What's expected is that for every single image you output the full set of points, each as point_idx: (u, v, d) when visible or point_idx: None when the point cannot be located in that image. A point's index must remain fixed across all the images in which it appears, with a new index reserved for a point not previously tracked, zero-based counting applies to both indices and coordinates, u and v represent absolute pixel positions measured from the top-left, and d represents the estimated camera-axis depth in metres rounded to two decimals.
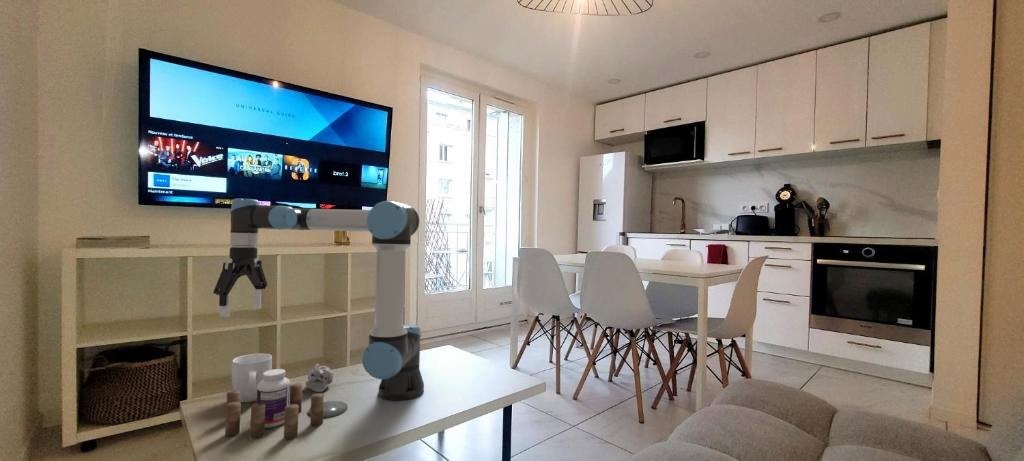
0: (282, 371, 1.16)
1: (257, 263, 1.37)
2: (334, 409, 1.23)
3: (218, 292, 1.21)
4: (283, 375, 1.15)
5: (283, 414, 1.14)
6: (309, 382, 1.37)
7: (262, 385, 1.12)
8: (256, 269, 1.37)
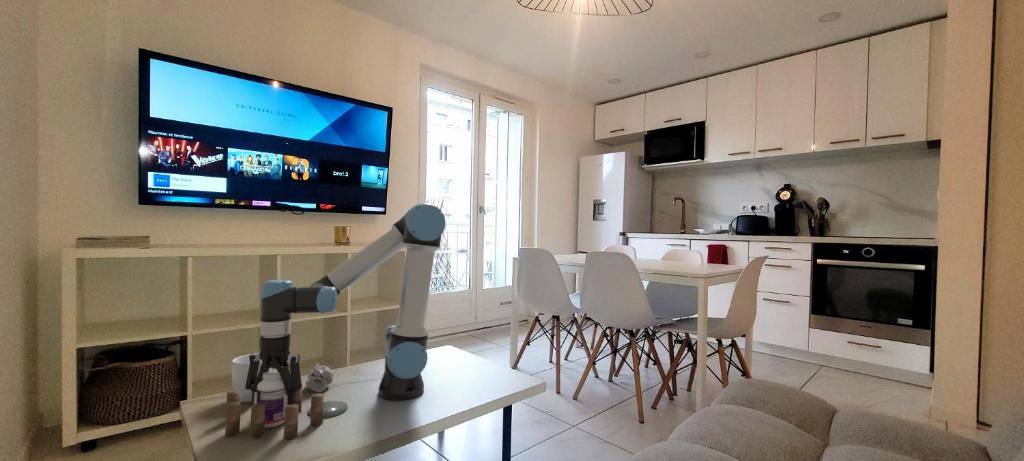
0: None
1: None
2: (334, 409, 1.23)
3: None
4: None
5: None
6: (309, 382, 1.37)
7: (262, 384, 1.12)
8: None
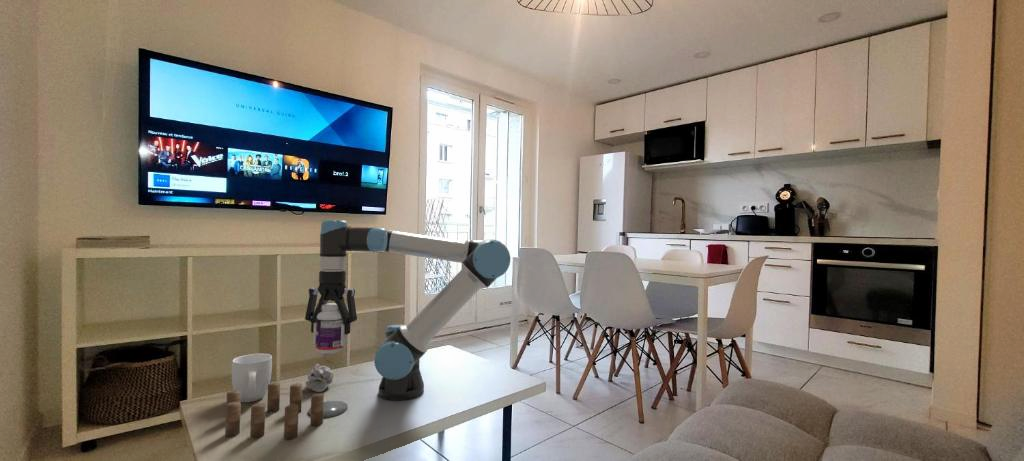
0: None
1: (348, 292, 1.24)
2: (334, 409, 1.23)
3: None
4: None
5: (340, 343, 1.24)
6: (309, 382, 1.37)
7: (321, 314, 1.22)
8: None
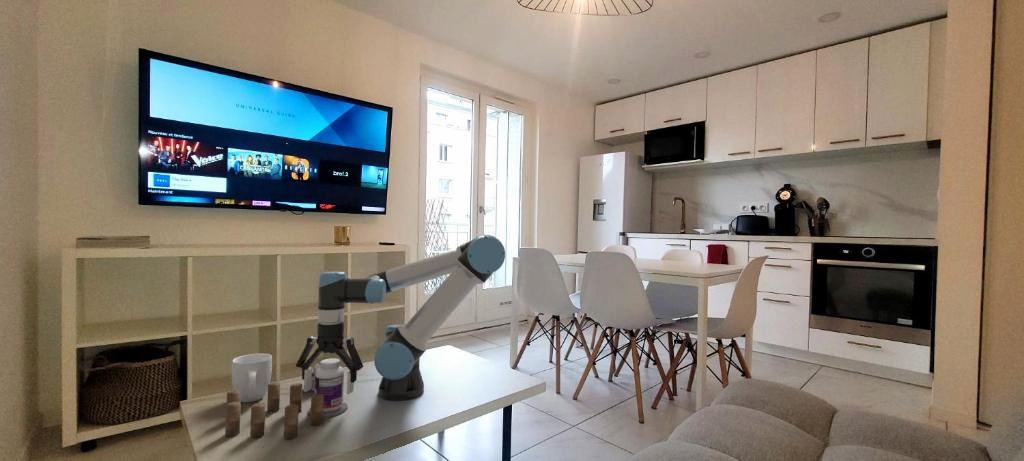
0: (337, 360, 1.25)
1: None
2: None
3: None
4: (338, 364, 1.24)
5: (339, 400, 1.23)
6: None
7: (320, 372, 1.22)
8: None
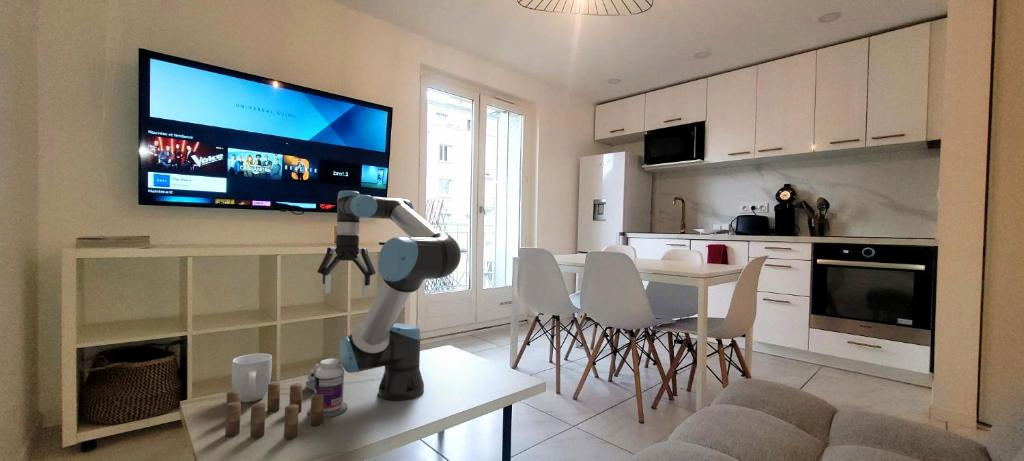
0: (337, 360, 1.25)
1: None
2: None
3: None
4: (338, 364, 1.25)
5: (339, 400, 1.23)
6: (309, 382, 1.37)
7: (320, 372, 1.22)
8: None
